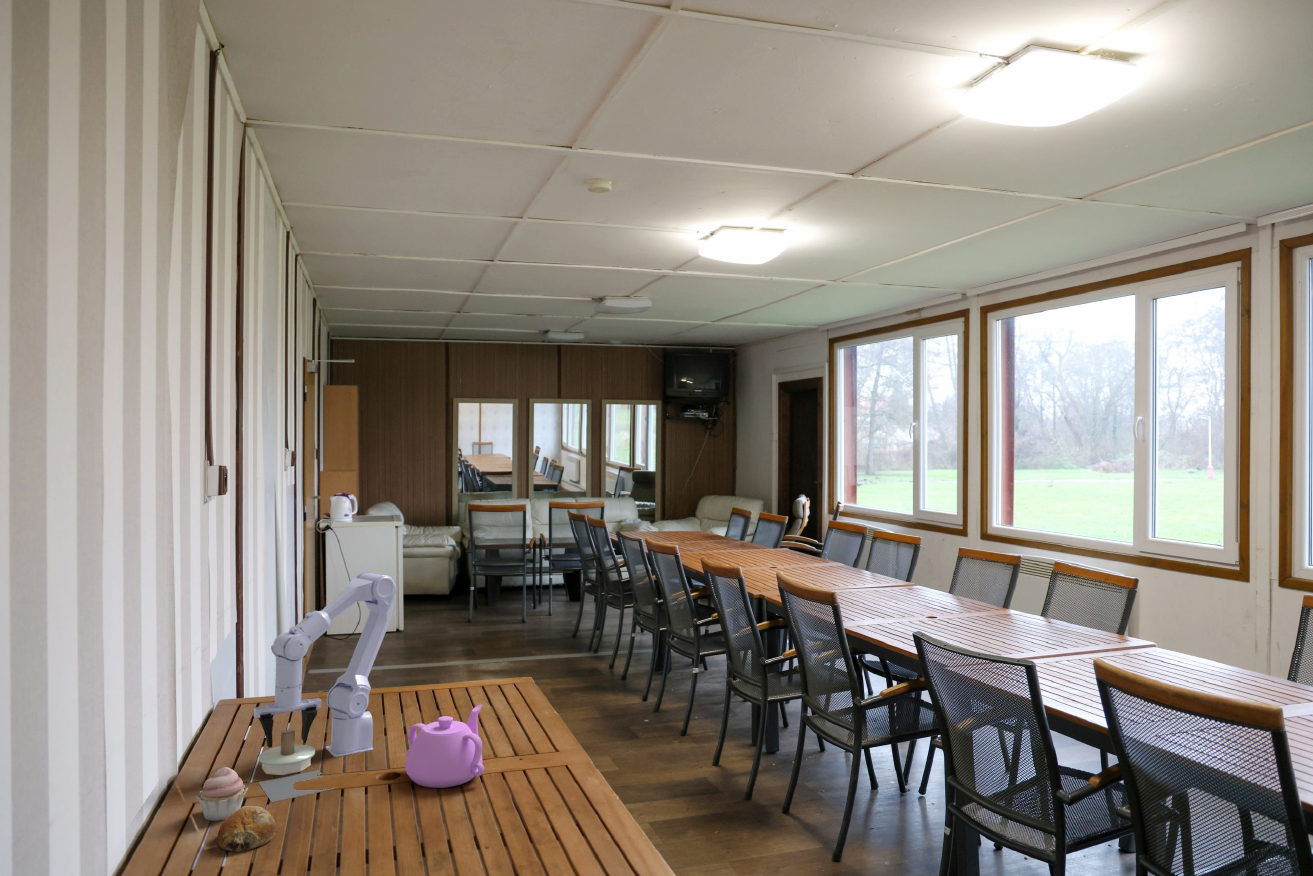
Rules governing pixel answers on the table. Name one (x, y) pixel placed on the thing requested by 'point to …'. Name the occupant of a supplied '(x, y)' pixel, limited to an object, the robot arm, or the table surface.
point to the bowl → (286, 768)
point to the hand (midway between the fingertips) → (287, 743)
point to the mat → (288, 786)
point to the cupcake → (222, 795)
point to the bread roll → (246, 829)
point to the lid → (287, 751)
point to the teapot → (445, 752)
